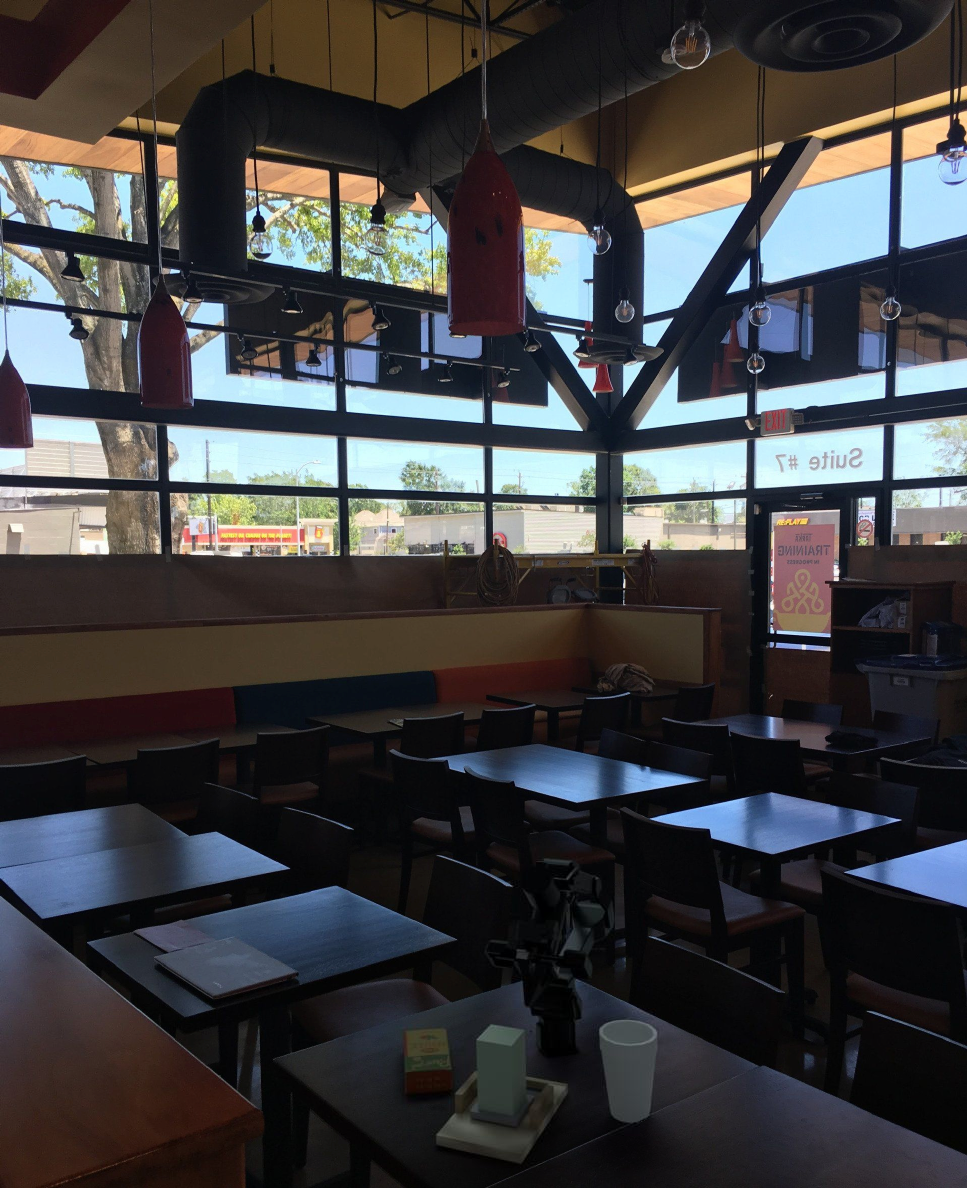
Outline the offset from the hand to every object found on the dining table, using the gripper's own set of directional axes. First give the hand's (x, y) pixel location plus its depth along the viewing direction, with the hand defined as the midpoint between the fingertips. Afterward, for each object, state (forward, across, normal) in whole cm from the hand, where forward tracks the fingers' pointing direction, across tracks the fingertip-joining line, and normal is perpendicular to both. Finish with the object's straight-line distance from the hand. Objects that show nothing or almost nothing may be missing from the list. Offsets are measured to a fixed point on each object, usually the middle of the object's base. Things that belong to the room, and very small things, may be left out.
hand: (527, 1006), depth 166 cm
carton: (+11, -19, +9) cm, 24 cm away
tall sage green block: (+17, 0, 0) cm, 17 cm away
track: (+17, 0, +2) cm, 17 cm away
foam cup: (+11, +18, +8) cm, 23 cm away
